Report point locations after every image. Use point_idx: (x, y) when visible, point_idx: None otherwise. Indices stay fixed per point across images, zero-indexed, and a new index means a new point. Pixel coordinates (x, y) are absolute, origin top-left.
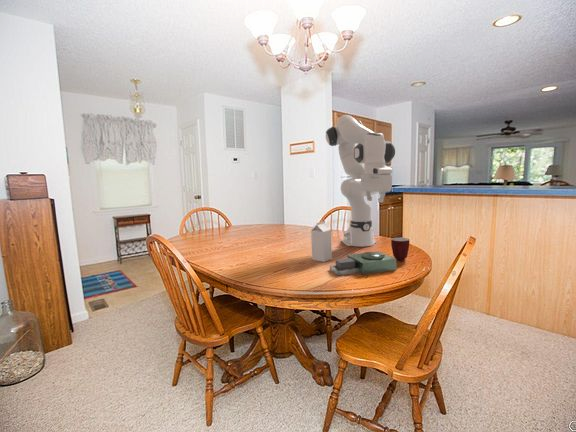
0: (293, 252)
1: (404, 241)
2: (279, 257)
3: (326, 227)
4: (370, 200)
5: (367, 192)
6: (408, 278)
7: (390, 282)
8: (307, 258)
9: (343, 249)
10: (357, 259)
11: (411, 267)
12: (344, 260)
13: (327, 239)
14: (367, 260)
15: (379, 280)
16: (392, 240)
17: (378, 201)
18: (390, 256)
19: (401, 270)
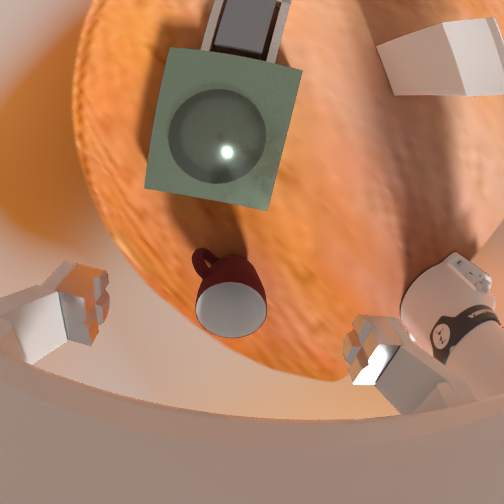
0: None
1: (196, 300)
2: (479, 12)
3: (478, 74)
4: (350, 334)
5: (432, 399)
6: (85, 155)
7: (87, 90)
8: None
9: (442, 213)
10: (221, 58)
11: (152, 235)
12: (247, 17)
13: (429, 62)
14: (185, 81)
15: (113, 71)
16: (240, 281)
17: (99, 271)
18: (176, 191)
19: (144, 189)
